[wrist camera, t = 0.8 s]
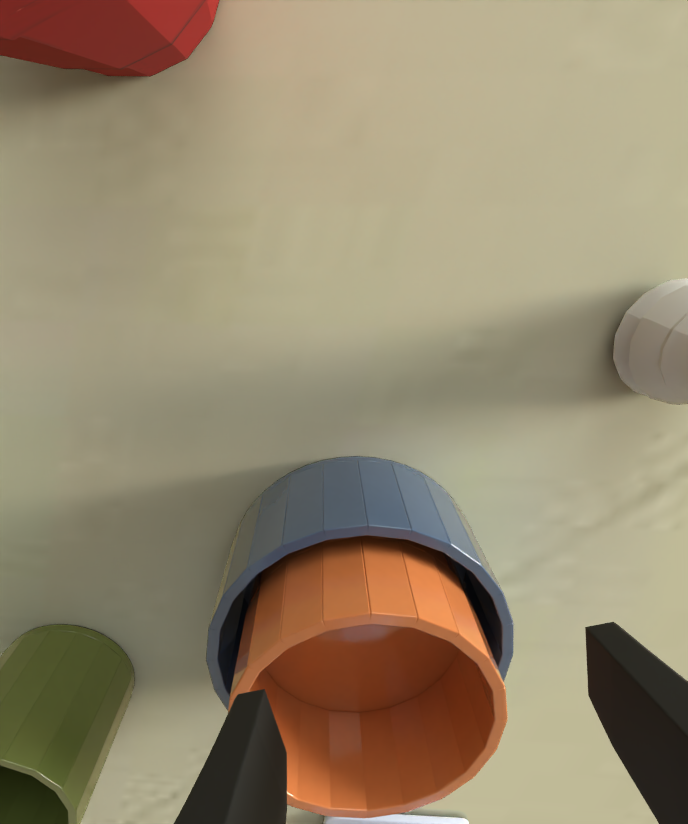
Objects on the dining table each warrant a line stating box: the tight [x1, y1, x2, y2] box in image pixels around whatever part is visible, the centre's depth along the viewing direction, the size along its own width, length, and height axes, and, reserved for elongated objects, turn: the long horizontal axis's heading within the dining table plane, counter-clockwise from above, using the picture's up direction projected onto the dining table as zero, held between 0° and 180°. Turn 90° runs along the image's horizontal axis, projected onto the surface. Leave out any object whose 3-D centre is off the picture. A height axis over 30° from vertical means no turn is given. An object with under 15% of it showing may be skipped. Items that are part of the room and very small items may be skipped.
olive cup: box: [0, 624, 135, 824], centre depth 20 cm, size 6×6×6 cm
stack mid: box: [228, 535, 507, 818], centre depth 18 cm, size 8×8×8 cm
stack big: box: [206, 456, 513, 710], centre depth 19 cm, size 10×10×5 cm
